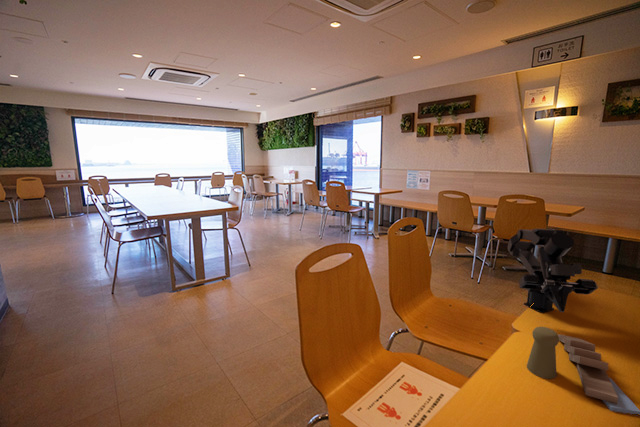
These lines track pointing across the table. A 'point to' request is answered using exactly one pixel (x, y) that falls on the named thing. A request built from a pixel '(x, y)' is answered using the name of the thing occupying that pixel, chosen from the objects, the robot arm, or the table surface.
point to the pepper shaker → (543, 353)
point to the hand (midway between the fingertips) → (562, 311)
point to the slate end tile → (621, 402)
